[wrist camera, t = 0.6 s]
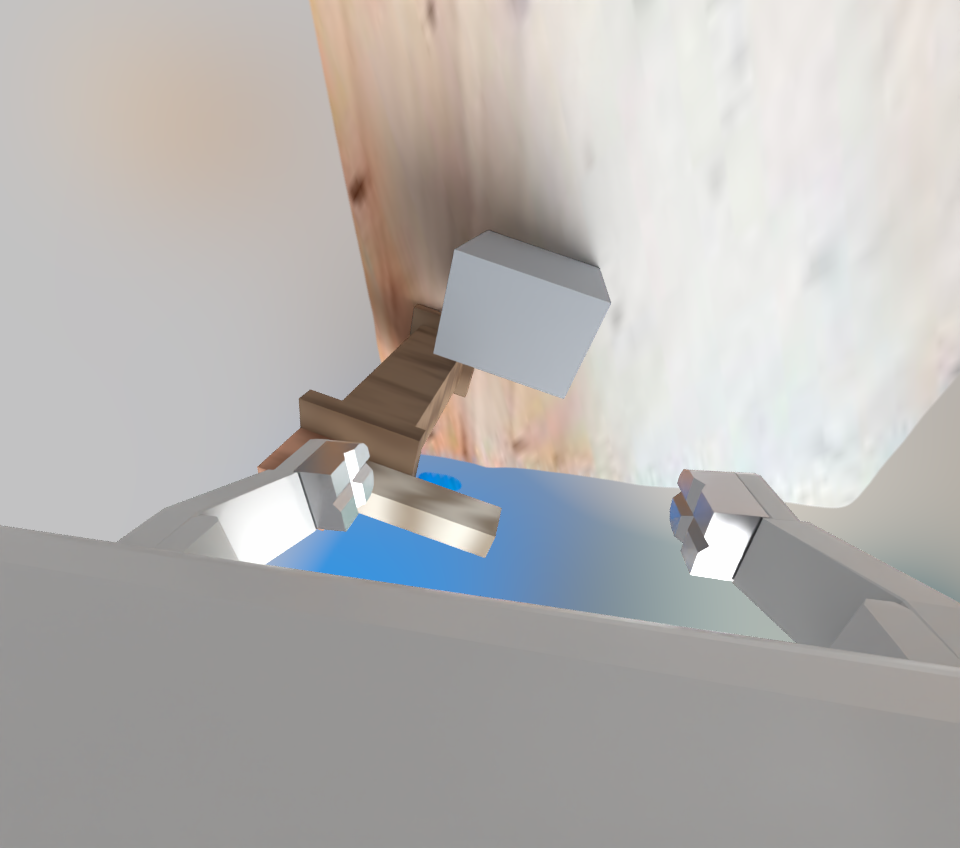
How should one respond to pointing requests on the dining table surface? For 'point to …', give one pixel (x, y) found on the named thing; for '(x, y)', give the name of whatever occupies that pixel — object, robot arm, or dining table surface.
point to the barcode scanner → (415, 503)
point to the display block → (520, 312)
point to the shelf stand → (393, 399)
